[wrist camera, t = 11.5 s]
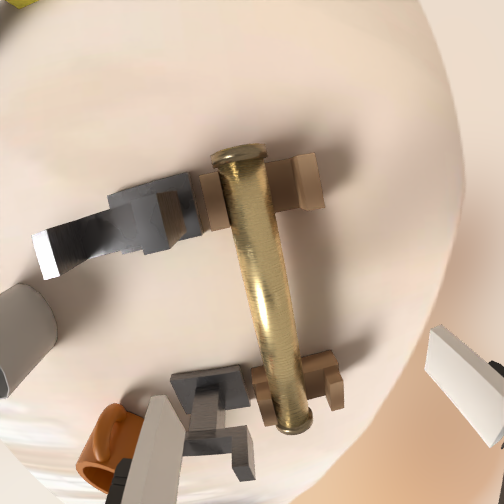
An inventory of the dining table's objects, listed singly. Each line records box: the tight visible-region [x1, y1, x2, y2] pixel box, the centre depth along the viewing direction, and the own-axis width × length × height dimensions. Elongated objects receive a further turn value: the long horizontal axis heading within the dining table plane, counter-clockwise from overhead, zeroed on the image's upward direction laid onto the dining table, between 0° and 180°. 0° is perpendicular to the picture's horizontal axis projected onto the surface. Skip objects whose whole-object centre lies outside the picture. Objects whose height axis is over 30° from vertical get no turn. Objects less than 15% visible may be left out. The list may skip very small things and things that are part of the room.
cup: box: [0, 284, 58, 399], centre depth 19 cm, size 8×8×10 cm
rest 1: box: [199, 153, 325, 231], centre depth 20 cm, size 4×8×5 cm, turn 102°
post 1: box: [31, 172, 203, 280], centre depth 17 cm, size 5×7×11 cm
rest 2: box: [251, 350, 344, 427], centre depth 24 cm, size 4×8×5 cm, turn 102°
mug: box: [76, 403, 144, 494], centre depth 24 cm, size 9×12×9 cm
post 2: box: [170, 365, 256, 482], centre depth 21 cm, size 5×7×11 cm
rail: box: [211, 143, 313, 435], centre depth 21 cm, size 24×4×4 cm
